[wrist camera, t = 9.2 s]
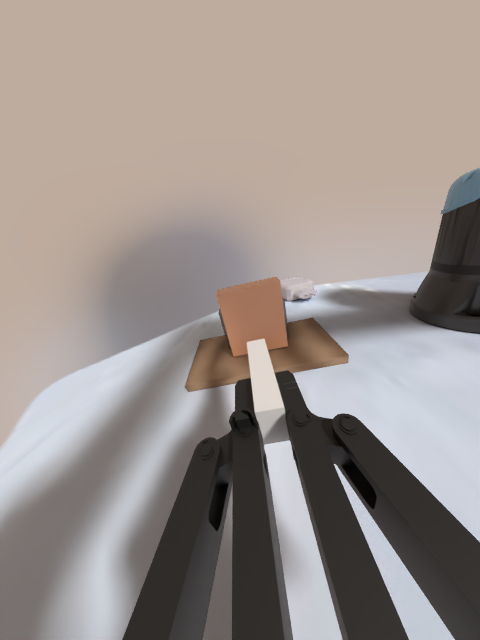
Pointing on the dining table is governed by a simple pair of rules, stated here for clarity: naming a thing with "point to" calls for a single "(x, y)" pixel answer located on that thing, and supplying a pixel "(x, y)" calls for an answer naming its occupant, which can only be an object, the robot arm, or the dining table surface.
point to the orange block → (253, 314)
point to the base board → (301, 354)
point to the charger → (297, 288)
